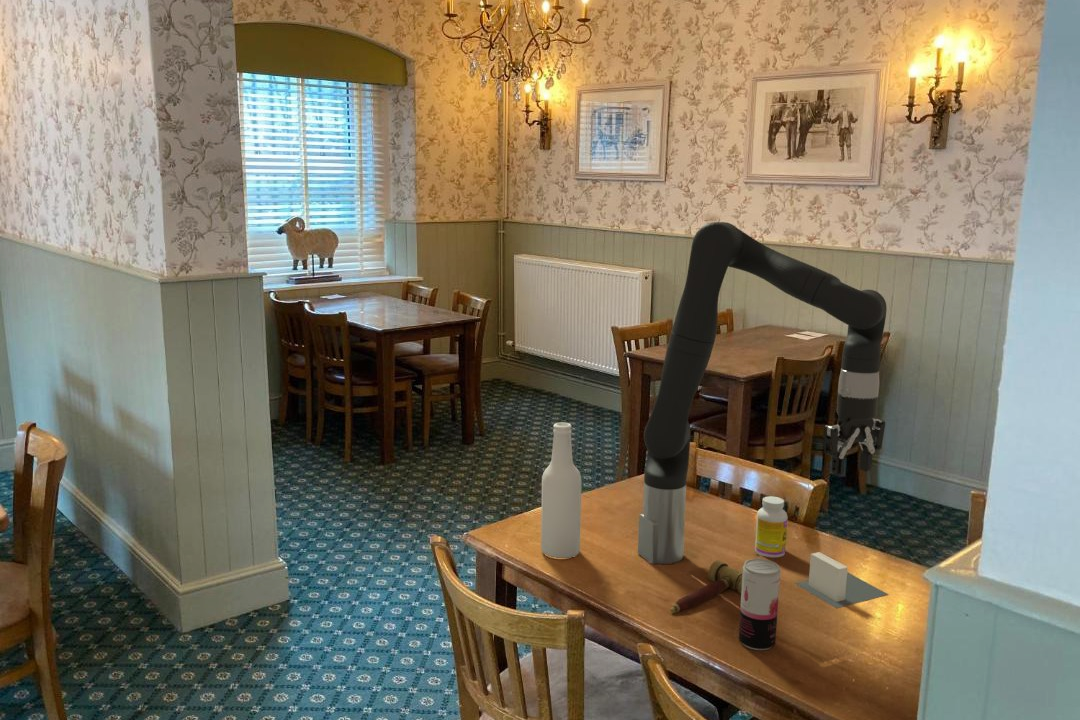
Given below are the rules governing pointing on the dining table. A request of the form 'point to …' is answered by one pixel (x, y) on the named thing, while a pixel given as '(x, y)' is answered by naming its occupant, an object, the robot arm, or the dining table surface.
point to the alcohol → (561, 499)
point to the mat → (848, 592)
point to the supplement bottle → (771, 528)
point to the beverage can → (759, 604)
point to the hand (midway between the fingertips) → (851, 472)
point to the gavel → (711, 586)
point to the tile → (827, 576)
